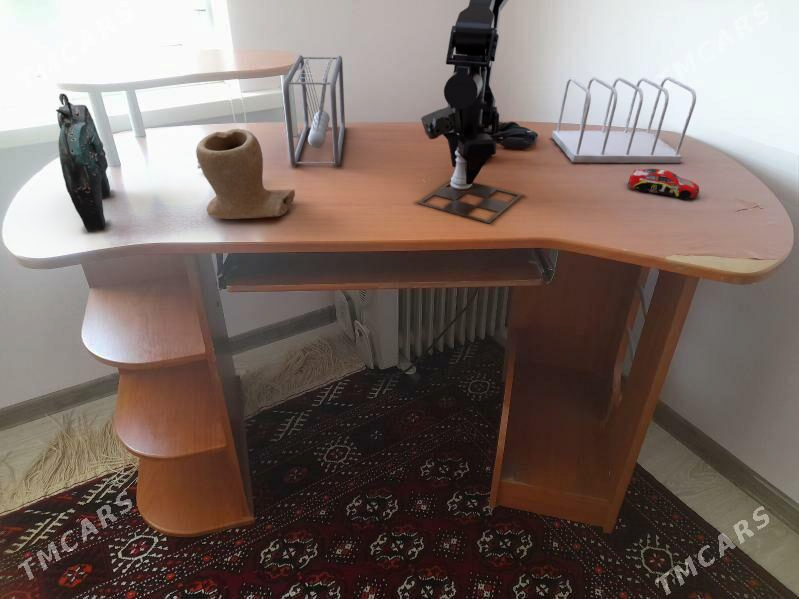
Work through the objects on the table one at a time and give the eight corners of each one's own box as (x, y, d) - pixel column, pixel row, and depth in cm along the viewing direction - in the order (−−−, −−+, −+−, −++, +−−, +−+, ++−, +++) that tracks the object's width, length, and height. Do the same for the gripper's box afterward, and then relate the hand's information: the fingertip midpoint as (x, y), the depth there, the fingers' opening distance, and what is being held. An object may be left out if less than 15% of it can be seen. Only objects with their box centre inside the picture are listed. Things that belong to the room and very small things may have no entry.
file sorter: (572, 163, 122) (586, 91, 114) (550, 138, 137) (562, 73, 128) (680, 163, 124) (703, 92, 115) (648, 138, 138) (666, 73, 129)
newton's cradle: (304, 126, 142) (298, 53, 132) (345, 127, 142) (342, 53, 132) (290, 169, 117) (281, 83, 107) (339, 169, 118) (335, 83, 108)
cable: (465, 148, 130) (467, 129, 128) (466, 130, 142) (468, 113, 139) (538, 152, 128) (541, 133, 126) (533, 133, 140) (536, 116, 137)
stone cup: (199, 229, 94) (180, 143, 85) (216, 200, 103) (201, 121, 95) (287, 229, 94) (277, 144, 86) (296, 201, 104) (288, 121, 95)
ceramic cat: (85, 190, 106) (49, 83, 95) (121, 186, 108) (90, 81, 97) (75, 236, 91) (31, 114, 80) (117, 230, 93) (80, 111, 82)
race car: (697, 193, 110) (704, 174, 108) (696, 203, 106) (703, 183, 104) (629, 180, 115) (634, 162, 112) (625, 189, 111) (630, 170, 108)
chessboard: (455, 179, 114) (455, 178, 114) (521, 195, 107) (522, 194, 107) (417, 203, 104) (417, 202, 104) (489, 224, 97) (489, 223, 97)
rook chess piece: (470, 191, 109) (473, 153, 104) (448, 189, 109) (450, 151, 105) (473, 182, 112) (475, 144, 107) (451, 180, 113) (453, 143, 108)
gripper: (414, 84, 107) (412, 161, 116) (439, 110, 92) (435, 197, 101) (469, 82, 109) (462, 158, 117) (502, 108, 94) (492, 192, 102)
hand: (461, 175), depth 109 cm, fingers open, 9 cm apart
